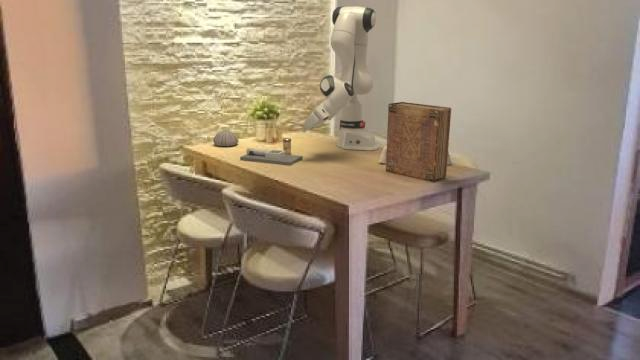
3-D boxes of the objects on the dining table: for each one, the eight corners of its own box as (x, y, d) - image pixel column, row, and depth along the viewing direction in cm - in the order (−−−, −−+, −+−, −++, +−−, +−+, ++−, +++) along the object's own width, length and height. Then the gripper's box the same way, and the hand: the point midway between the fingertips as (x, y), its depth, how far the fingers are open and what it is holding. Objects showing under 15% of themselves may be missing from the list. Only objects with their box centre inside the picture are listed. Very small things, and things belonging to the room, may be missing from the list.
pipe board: (302, 159, 264) (302, 150, 262) (290, 165, 251) (290, 155, 250) (254, 154, 273) (254, 145, 272) (240, 159, 260) (240, 150, 259)
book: (446, 178, 233) (451, 107, 225) (434, 182, 227) (439, 109, 219) (397, 167, 250) (401, 101, 242) (385, 171, 244) (388, 103, 236)
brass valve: (292, 154, 274) (292, 138, 272) (289, 155, 270) (289, 139, 268) (285, 153, 276) (285, 137, 273) (281, 155, 272) (281, 139, 270)
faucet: (406, 169, 266) (412, 150, 266) (382, 163, 254) (388, 142, 254) (400, 168, 269) (405, 148, 269) (376, 161, 257) (382, 141, 257)
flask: (441, 161, 263) (443, 141, 260) (454, 164, 258) (456, 143, 255) (432, 164, 258) (434, 143, 255) (445, 167, 253) (447, 145, 250)
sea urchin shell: (208, 145, 292) (207, 130, 290) (228, 141, 302) (227, 127, 300) (224, 149, 284) (224, 133, 282) (244, 145, 294) (243, 130, 292)
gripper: (329, 103, 269) (311, 121, 275) (314, 108, 251) (294, 128, 257) (338, 113, 269) (319, 131, 275) (323, 118, 250) (303, 138, 256)
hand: (307, 129), depth 265 cm, fingers open, 8 cm apart
